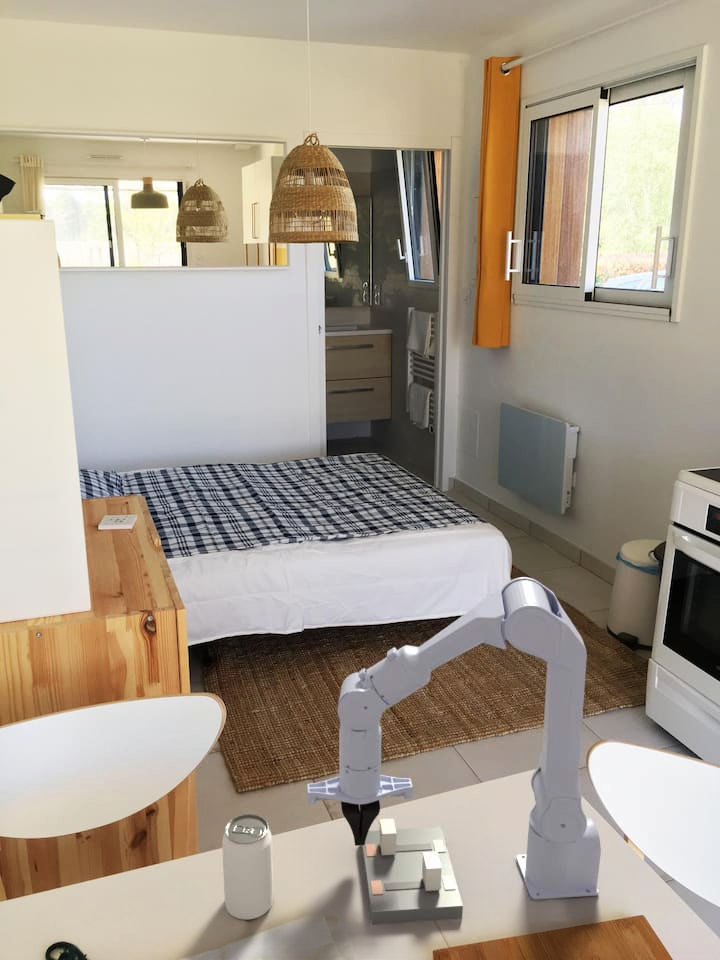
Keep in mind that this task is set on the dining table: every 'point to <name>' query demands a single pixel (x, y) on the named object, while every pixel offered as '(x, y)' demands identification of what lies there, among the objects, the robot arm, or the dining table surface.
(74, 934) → the dining table surface
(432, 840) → the panel
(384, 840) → the block
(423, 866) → the block
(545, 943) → the dining table surface
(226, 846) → the can
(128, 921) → the dining table surface
